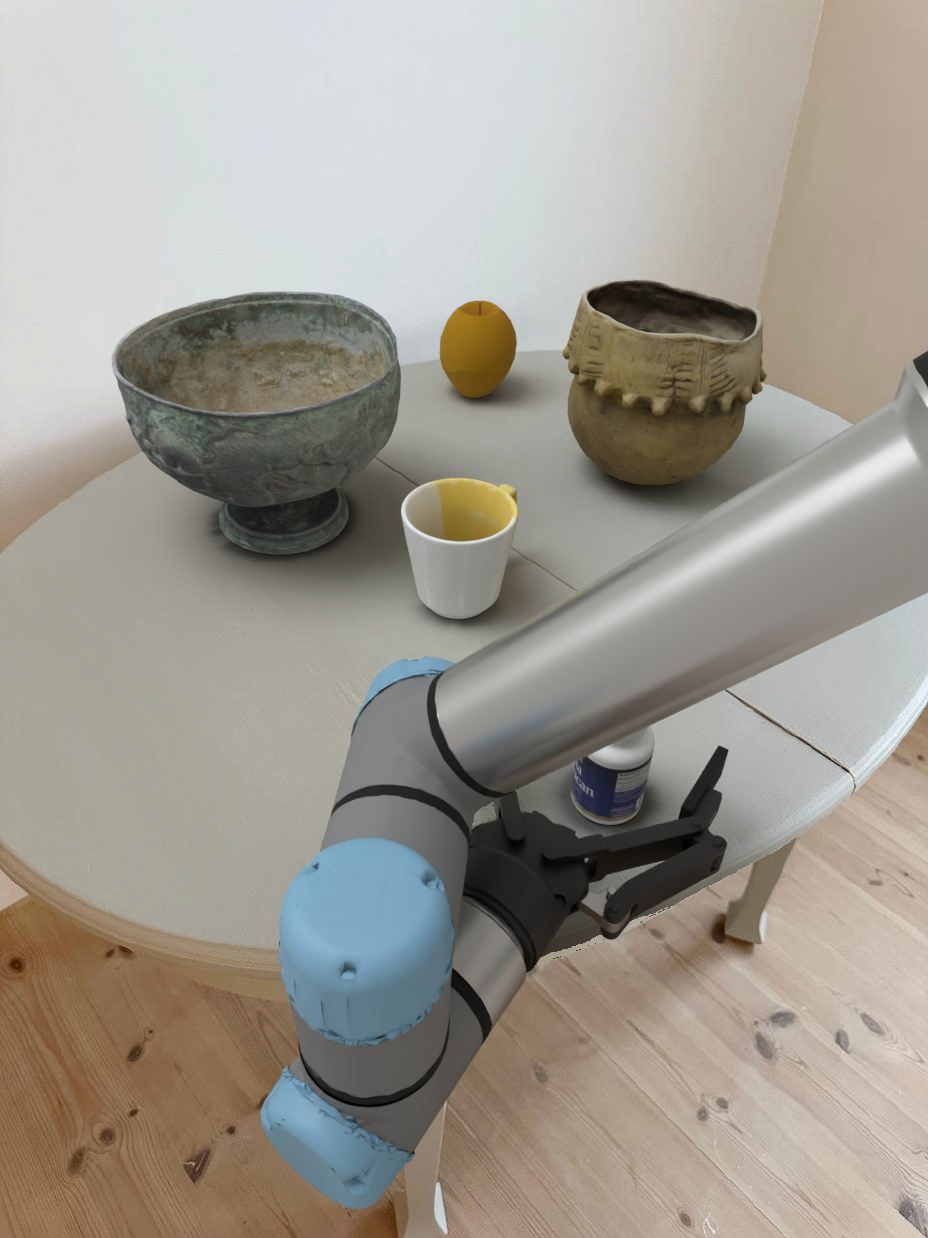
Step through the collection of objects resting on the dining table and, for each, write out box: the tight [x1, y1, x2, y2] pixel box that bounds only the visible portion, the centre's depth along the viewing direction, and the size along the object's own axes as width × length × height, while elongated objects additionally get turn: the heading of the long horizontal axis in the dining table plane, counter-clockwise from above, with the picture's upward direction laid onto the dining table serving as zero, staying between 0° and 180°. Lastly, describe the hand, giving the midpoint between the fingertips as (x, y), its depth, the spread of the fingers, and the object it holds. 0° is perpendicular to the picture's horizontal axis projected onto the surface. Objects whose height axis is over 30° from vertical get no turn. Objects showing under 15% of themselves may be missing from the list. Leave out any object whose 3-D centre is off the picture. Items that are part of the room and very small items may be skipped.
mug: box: [400, 477, 519, 620], centre depth 88 cm, size 14×10×10 cm
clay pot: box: [562, 278, 768, 486], centre depth 102 cm, size 21×21×20 cm
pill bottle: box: [570, 726, 656, 826], centre depth 69 cm, size 5×5×10 cm
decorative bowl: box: [111, 291, 402, 555], centre depth 94 cm, size 26×26×20 cm
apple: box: [439, 300, 518, 399], centre depth 119 cm, size 10×10×12 cm
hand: (633, 720), depth 70 cm, fingers open, 13 cm apart
